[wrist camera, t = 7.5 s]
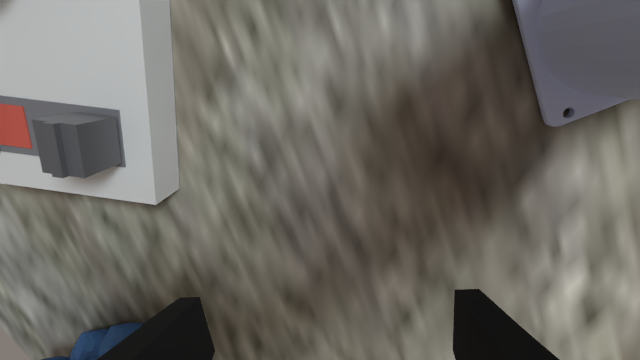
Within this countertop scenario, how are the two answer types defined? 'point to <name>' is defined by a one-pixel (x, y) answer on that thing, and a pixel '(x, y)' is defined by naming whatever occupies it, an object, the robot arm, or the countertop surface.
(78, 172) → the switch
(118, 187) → the switch panel
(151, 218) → the countertop surface
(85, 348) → the grapes
